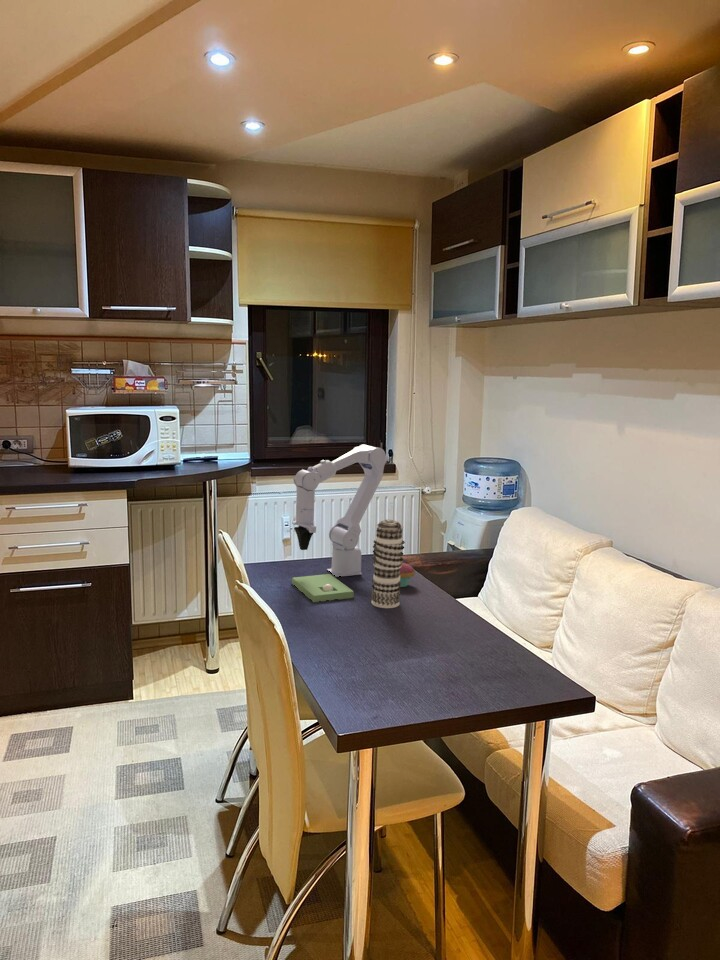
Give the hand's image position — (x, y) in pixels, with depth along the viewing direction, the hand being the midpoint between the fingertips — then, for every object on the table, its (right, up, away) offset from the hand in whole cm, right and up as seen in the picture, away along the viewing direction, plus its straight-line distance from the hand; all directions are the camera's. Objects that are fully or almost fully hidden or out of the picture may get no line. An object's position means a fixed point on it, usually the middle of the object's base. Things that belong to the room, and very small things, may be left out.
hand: (303, 549), depth 231 cm
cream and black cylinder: (+26, -15, -17) cm, 34 cm away
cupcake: (+31, -12, +1) cm, 33 cm away
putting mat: (+6, -12, -9) cm, 16 cm away
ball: (+8, -13, -13) cm, 20 cm away
